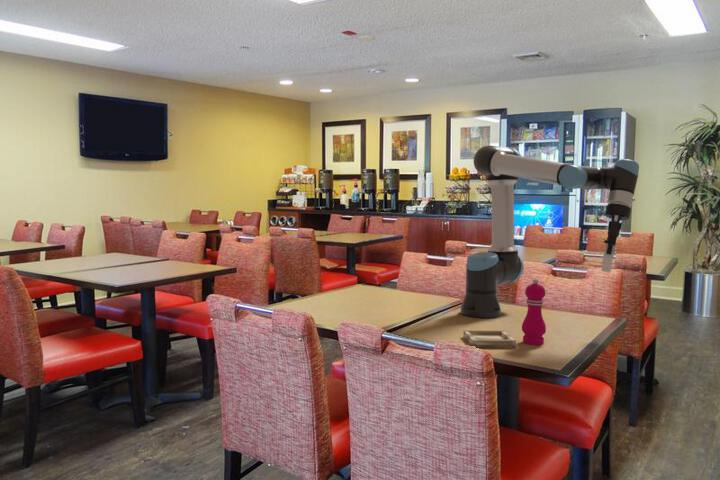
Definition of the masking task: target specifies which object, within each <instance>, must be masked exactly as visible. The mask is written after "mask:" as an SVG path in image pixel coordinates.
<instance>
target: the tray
mask: <svg viewBox="0 0 720 480" xmlns="http://www.w3.org/2000/svg"><path fill="white" fill-rule="evenodd" d="M462 335H463V338H464V339H465V340H466V342H467V343H468V344H469V345H470V347H472V346H475V347H477V348H476V349H483V348H484V349H485V348H486V349H516V348H517V340H516V339H515V338H513V337H512V336H511V335H510V334H509V333H508V332H507V331H505V330H500V329H499V330H498V329H497V330H495V329H494V330H492V329H490V330H488V329H485V330H484V329H483V330H482V329H480V330H479V329H471V330H470V329H465V330H463V334H462Z"/></svg>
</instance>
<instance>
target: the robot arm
mask: <svg viewBox="0 0 720 480" xmlns="http://www.w3.org/2000/svg"><path fill="white" fill-rule="evenodd" d="M473 166H474V169H475V170H476V171H477V173H479V174H480V175H483V176H486V178H487V181H486V182H487V183H488V184H489V185H490V186H491V246H490V247H489V249H488V250H487V251H483V252H473V253H471V254H469V255H468V256H467V258H466V263H465V264H466V265H465V267H466V274H465V275H466V277H465V294H464V297H463V301H462V303H461V306H460V314H461V315H462V316H467V317H470V318H471V317H472V318H478V319H479V318H480V319H489V318H490V319H491V318H498V317H500V316H501V314H502V309H501V305H500V302H499V299H498V294H497V292H498V285H508V284H509V285H510V284H512V283H514V282H516V281H518V280H519V279H520V278H521V277H522V275H523V273H524V262H523V260H522V258H521V257H520V255H519V250H518V248H516V246H515V207H514V205H515V193H514V192H515V191H514V189H515V187H514V186H515V185H516V183H517V182H518V179H526V180H531V181H535V182H540V183H545V184H550V185H551V184H552V185H557V186H561V187H564V188H568V189H572V190H574V189H575V190H577V189H581V190H582V189H583V190H609V192H608V196H607V201H606V202H607V203H606V204H607V205H606V207H605V211H604V216H605V217H606V218H608V219H611V220H609V221H608V225H607V226H608V227H607V229H608V230H607V237H606V239H604V241H603V244H605V246H604V252H603V256H602V257H603V258H602V262H601V265H602V268H601V272H606V273H611V272H612V271H611V270H612V265H613V261H614V260H613V259H614V255H617V251H616V250H615V249H616V244H617V243H616V242H617V238H619V235H620V231H621V230H622V226H623V223H622V222H621V221H627V220H629V219H630V216H631V211H632V208H631V207H633V202H635V201H636V198H635V197H634V196H635V191H636V186H637V182H638V178H639V170H640V165H639V163H638V162H637V161H636V160H632V159H628V158H627V159H626V158H622V159H617V160H616V161H615V164H614V166H609V167H607V166H606V167H605V166H603V167H601V166H586V165H585V166H584V165H577V164H571V163H563V162H558V161H552V160H546V159H541V158H533V157H528V156H522V155H521V153H520V152H519V151H518V150H517V149H515V148H512V147H509V146H498V145H497V146H496V145H484V146H482V147H480V148H478V150H477V151H476V153H475V154H474V156H473Z"/></svg>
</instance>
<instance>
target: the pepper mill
mask: <svg viewBox="0 0 720 480" xmlns="http://www.w3.org/2000/svg"><path fill="white" fill-rule="evenodd" d="M539 281H540V280H538V279H537V278H534V279H532V283H531V284H528V285H527V286H526V288H525V291H524V294H525V296H526V298H527V299H526V303H525V304H526V305H527V312H526V315H525V317H524V319H523V322H522V324H521V331H522V332H523V334H524V335H523V336H522V342H523V343H524V344H526V345H530V346H531V345H533V346H541V345H543V344H544V343H545V337H544V335H545V334H546V332H547V328H546V327H547V326H546V322H545V320H544V317H543V314H542V307H543V305H544V300H543V299H544V298H545V296H546V289H545V286H543V285H541V284H539V283H540V282H539Z"/></svg>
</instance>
